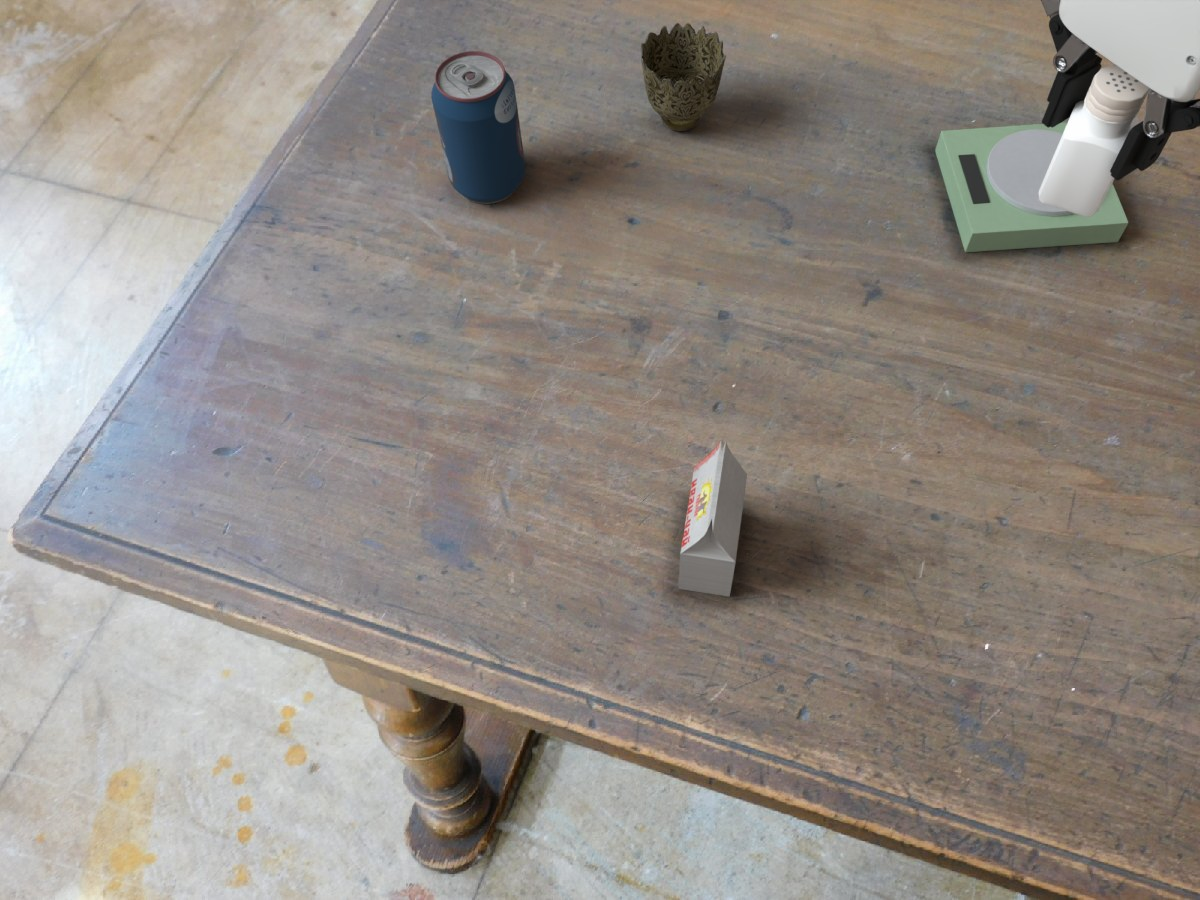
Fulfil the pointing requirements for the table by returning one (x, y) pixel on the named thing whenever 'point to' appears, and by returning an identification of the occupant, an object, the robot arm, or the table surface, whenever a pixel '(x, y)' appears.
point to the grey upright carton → (713, 524)
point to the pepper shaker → (1093, 143)
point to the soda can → (479, 126)
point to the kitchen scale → (1015, 191)
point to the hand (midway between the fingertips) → (1095, 139)
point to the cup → (682, 73)
